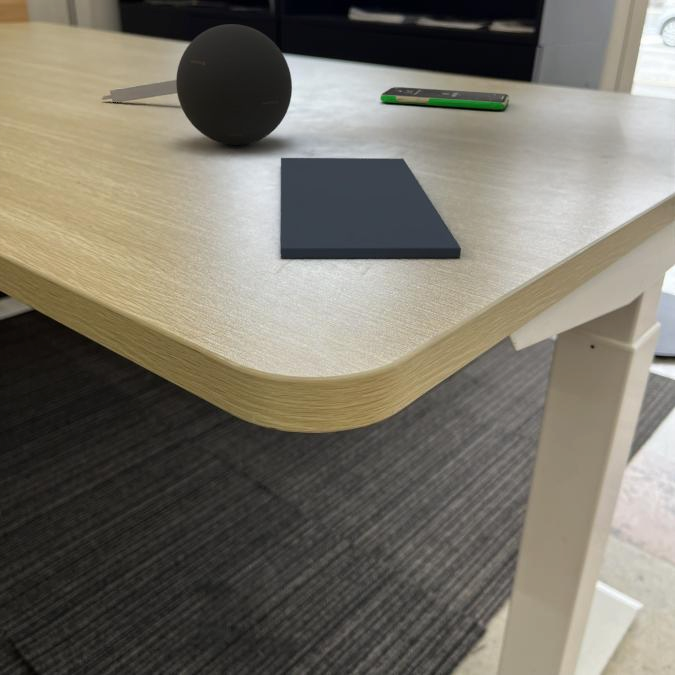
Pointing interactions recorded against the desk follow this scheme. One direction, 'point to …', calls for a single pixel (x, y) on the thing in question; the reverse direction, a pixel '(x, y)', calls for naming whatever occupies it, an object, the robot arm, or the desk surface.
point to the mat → (358, 211)
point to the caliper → (142, 91)
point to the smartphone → (446, 98)
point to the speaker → (234, 84)
